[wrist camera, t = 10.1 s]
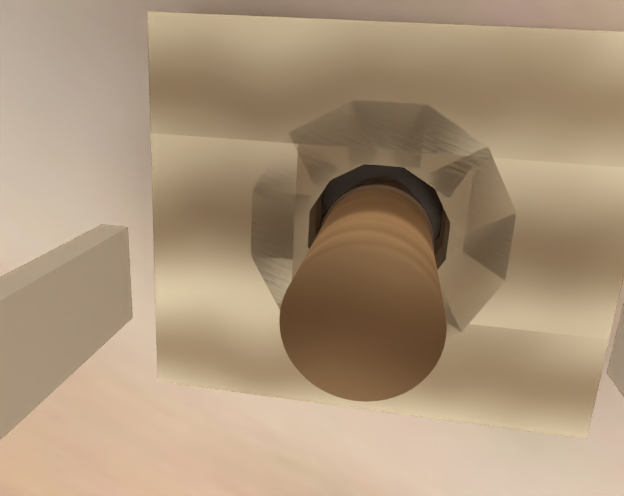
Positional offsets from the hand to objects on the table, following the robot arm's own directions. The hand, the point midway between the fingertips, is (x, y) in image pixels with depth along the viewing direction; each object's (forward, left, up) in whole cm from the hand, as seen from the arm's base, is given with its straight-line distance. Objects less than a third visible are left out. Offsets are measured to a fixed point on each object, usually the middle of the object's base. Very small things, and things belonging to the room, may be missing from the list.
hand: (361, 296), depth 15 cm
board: (0, 0, -12) cm, 12 cm away
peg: (0, 0, -12) cm, 12 cm away
